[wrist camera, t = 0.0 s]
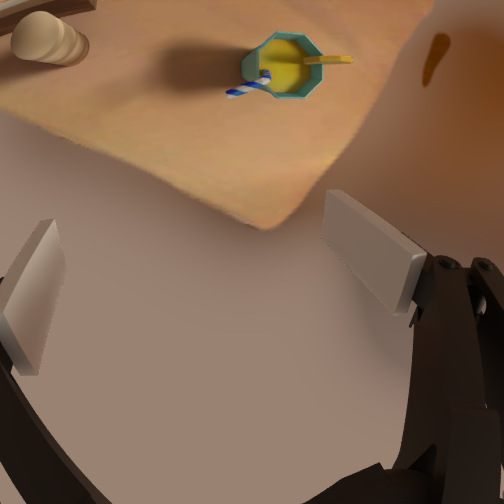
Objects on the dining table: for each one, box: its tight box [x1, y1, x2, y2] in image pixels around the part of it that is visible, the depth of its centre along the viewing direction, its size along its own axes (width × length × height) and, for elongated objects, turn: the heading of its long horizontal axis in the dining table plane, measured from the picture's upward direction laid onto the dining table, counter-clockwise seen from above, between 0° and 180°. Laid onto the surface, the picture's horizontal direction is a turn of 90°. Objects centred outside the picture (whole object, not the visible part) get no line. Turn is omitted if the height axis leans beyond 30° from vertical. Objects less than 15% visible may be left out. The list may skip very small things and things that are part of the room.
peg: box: [11, 11, 89, 66], centre depth 22 cm, size 4×4×14 cm
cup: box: [226, 31, 353, 100], centre depth 30 cm, size 14×8×15 cm, turn 113°
